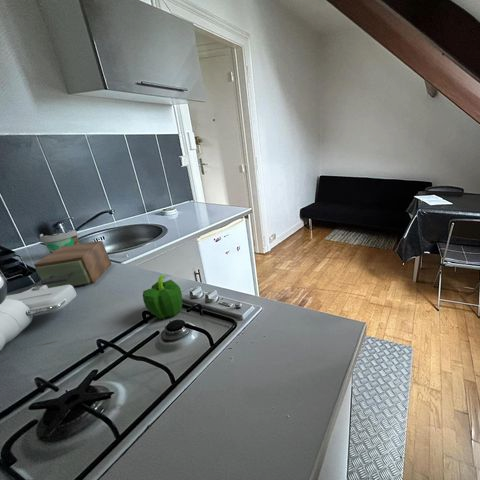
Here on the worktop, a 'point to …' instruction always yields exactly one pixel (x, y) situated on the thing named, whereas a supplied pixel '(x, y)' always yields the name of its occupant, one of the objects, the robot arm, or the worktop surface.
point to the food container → (59, 240)
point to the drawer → (63, 274)
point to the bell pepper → (163, 298)
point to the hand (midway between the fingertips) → (41, 288)
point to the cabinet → (81, 258)
